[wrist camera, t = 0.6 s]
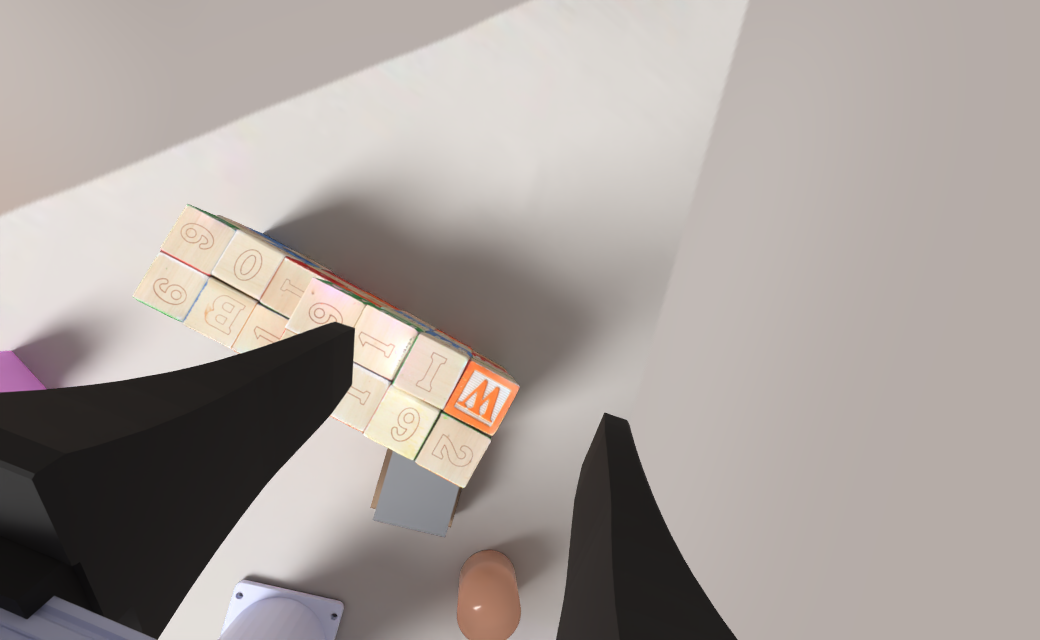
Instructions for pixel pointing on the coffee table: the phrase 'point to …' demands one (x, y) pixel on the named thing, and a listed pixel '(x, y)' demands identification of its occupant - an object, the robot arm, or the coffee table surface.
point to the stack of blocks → (328, 298)
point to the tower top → (415, 498)
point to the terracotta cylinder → (488, 597)
